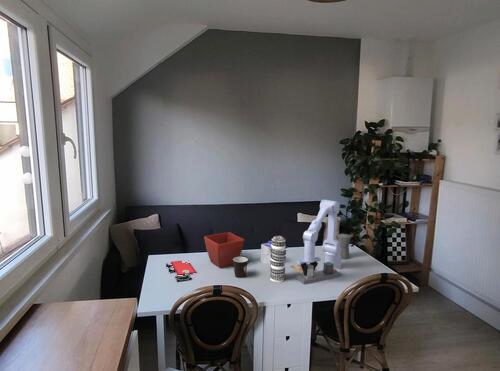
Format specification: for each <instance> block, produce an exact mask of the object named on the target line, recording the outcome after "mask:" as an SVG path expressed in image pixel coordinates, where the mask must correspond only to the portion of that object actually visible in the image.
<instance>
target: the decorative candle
mask: <svg viewBox="0 0 500 371" xmlns="http://www.w3.org/2000/svg"><path fill="white" fill-rule="evenodd" d="M271 241H272V244H271V243H270V244H271V247H270V251H271V253H270V254H271V255H270V257H271V266H270V269H269V270H270V273H269V274H270V276H269V277H270V278H269V279H270V281H271V282H274V283H283V282H284V281H285V278H286V265H285V262H286V255H287V253H286V252H287V250H286V249H287V246H286V238H285V237H284V236H282V235H275V236H273V238H271Z"/></svg>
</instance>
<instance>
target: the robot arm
mask: <svg viewBox="0 0 500 371" xmlns="http://www.w3.org/2000/svg"><path fill="white" fill-rule="evenodd" d="M339 213H340V203H339V202H338V201H336V200H335V201H334V200H329V199H322V200H321V201H320V204H319V211H318V214H317V216H316V218H315V219H314V220H312V221H311V223H310V225H309V227H308V229H307V230H305V231H304V232H303V235H302V239H303V244H304V249H303V250H304V254H303V255H304V256H303V258H301V259H299V260H297V262H296V265H301V267H302V269H303V273H302V274H304V275H305V276H307V270H308V265H307V264H311V265H313V266H314V268H313V274H314V272H316V271H315V269H316V268H317V267H318V265H319V263H318V262H321V258H322V257H319V256H315V253H316V252H315V251H316V249H315V248H316V242H317V241H318V236H319V232H320V230H321V228H322V225H323V224H322V222H323V221H324V219H325V218H326V216H327V215H328V217H327V218H328V219H327V220H328V221H327V222H328V223H327V237H326V239H325V240H323V244H322V246H321V247H322V251H323V252H324V253H323V254H325V255H324V263H325V262H331V263H332V264H334V266H333V269H335V270H338V269H339V270H340V269H342V266H341V265H342V263H341V262H342V259H341V256H340V254H339V253H340V250H341V248H340V242H339V241H338V240H337V239H336V235H337V222H338V214H339ZM321 267H322V268H323V267H324V264H322V265H321Z"/></svg>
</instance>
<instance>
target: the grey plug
mask: <svg viewBox="0 0 500 371" xmlns="http://www.w3.org/2000/svg"><path fill="white" fill-rule="evenodd" d="M306 264H307V265H308V270H307V276H305V275H304V274H303V273H302V274H303V276H304V277H305V278H307V279H310V278H313V268H314V266H313V265H311V264H310V263H306Z"/></svg>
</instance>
